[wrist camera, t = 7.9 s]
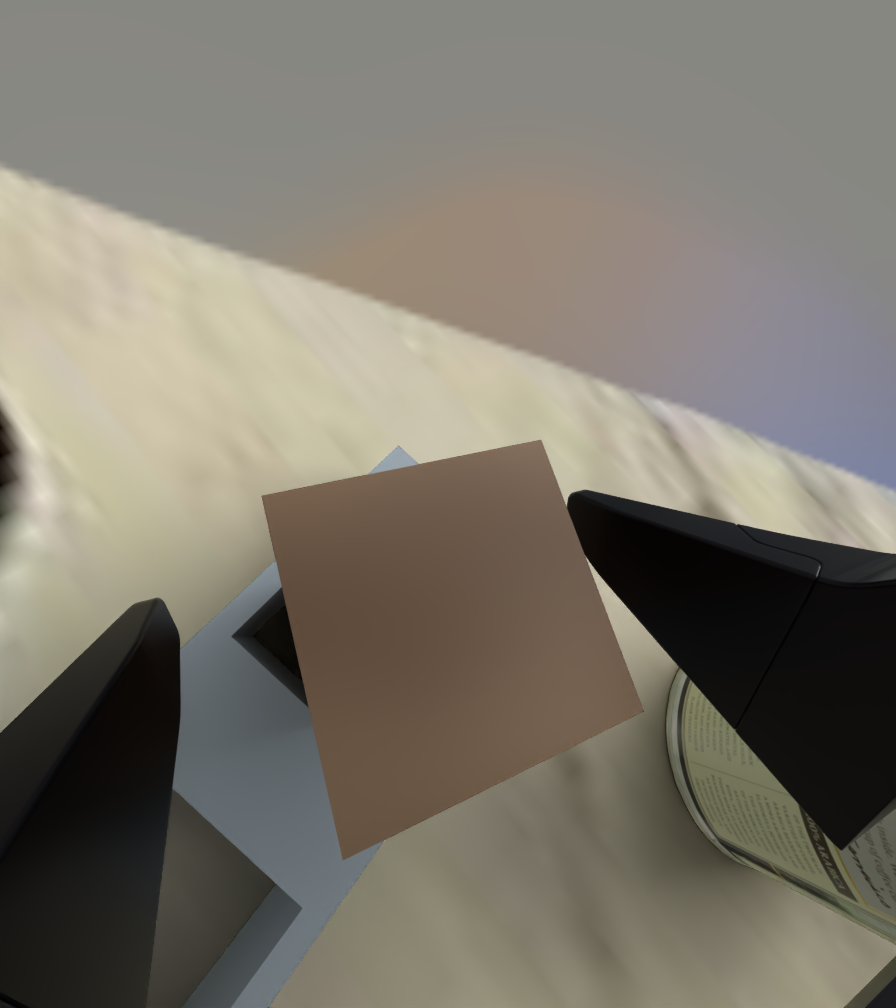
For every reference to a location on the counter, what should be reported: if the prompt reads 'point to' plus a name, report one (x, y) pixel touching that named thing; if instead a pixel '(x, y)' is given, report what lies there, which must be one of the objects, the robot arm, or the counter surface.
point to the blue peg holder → (261, 790)
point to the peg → (442, 633)
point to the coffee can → (774, 818)
